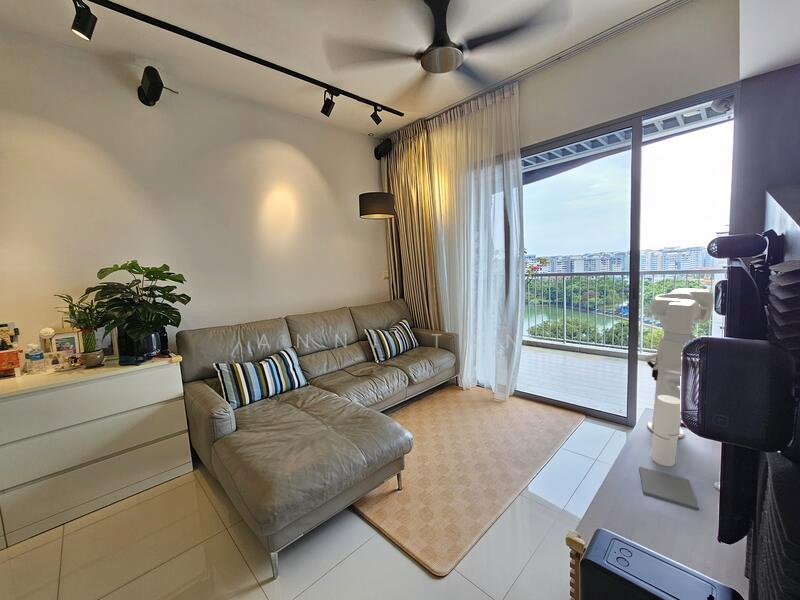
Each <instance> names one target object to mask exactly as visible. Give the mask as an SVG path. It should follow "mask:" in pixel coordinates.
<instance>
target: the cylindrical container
mask: <svg viewBox="0 0 800 600" xmlns="http://www.w3.org/2000/svg"><path fill="white" fill-rule="evenodd" d="M679 424H680V425H681V423H680V399H678V398H676V397H673V396H668V395H659V396H657V405H656V414H655V423H654V432H652V433H653V434H652V441H651V442H652V443H651V450H650V459H651V460H652V461H653V462H655V463H657V464H658V465H661V466H664V467H673V466H675V464H676V463H675V462H676V454H677V448H678V439H679V438H678V432H679Z"/></svg>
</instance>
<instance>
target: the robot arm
mask: <svg viewBox="0 0 800 600" xmlns="http://www.w3.org/2000/svg"><path fill="white" fill-rule="evenodd" d="M714 303H715V298H714V295H713V292H711V291H710V290H709V289H705V288H704V289H703V288H701V289H700V288H686V287H685V288H684V287H683V288H681V287H680V288H675V289H673V290H671V291H670V292H669V293H663V294H657V295H655V297H654V298H653V299H652V300H651V304H650V312H651V314H652V316H654V317H657V318H659V322H660V324H661V327H662V328H661V329H662V330H663V337H660V339H659V342H658V345H657V349H656V352H655V353H651V354H647V355H645V356H644V360H645V361H646V362H647V365H648V366H649V367H650V368H651V369H652V370H651V371H652V373H651V378H653V380H654V381H655V393H654V400H653V410H652V419H651V421H650V420H649V421H648V422H647V423H646V425H647V428H648V429H649V431H651V432H652V433H653V432H654V423H655V414H656V405H657V396H659V395H668V396H673V397H676V398H678V399H680V390H681V389H680V387H681V386H680V376H681V351H682V348H683V346H684V345H685V343H686V342H688V341H689V340H691V339H692V340H694V339H693V338H696V337H697V338H698V335H696V334H693V327H694V326H693V325H694V324H706V323H708V322H709V321H710V320H711V316H712V313H713V312H712V311H713V308H714ZM692 340H691V341H692ZM652 359H655V361H656V362H654V363H653V362H652V361H651V360H652ZM681 423H682V417H681V418H680V424H679V432H678V439H682V438H683V437H684V436H685V431H684V430H683V429H682V428H681Z"/></svg>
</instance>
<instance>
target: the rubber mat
mask: <svg viewBox="0 0 800 600" xmlns="http://www.w3.org/2000/svg"><path fill="white" fill-rule="evenodd" d="M638 469H639V475H640V481H641V487H642V488H643V489H642V494H644V493H645V494H644V495H647V494H648V495H647V496H651V495H652V496H651V497H654V498H658V499H661V500H664V501H668V502H670V503H675V504H677V505H681V506H685V507H687V508H692V509H695V510H699V509H700V507H699V504H698V501H697V498H696V496H695V493H694V490H693V487H692V484H691V481H690V479H688V478H684V477H681V476H677V475H676V476H675V475H672V474H669V473H666V472H665V473H664V472H662V471H661V472H660V471H658V470H654V469H651V468H645V467H642V466H639V468H638Z"/></svg>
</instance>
